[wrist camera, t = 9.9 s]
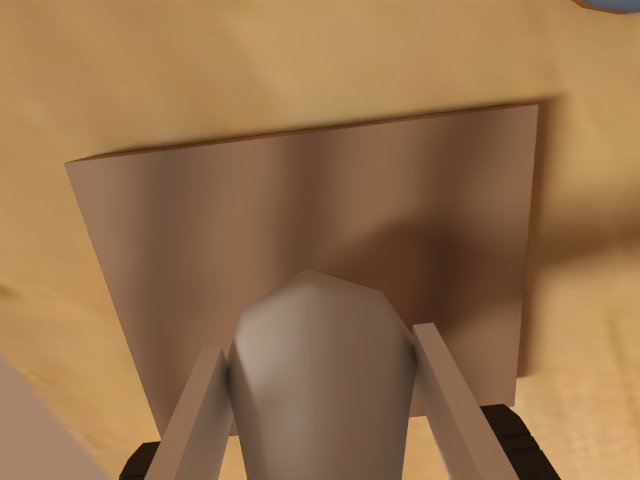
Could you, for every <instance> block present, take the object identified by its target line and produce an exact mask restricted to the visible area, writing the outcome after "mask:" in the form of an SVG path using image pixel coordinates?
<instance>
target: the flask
mask: <svg viewBox="0 0 640 480" xmlns="http://www.w3.org/2000/svg"><path fill="white" fill-rule="evenodd" d="M226 363H227V367H228V369H227V391H228V395H229V399H230V403H231V407H232V411H233V415H234V419H235V423H236V427H237V431H238V435H239V439H240V444H241V450H242V455H243V460H244V465H245V470H246V475H247V480H401V478H402V470H403V461H404V453H405V445H406V436H407V428H408V420H409V413H410V407H411V401H412V395H413V389H414V383H415V377H416V372H417V366H418V363H417V359H416V355H415V350H414V346H413V336H412V334H411V333H410V331H409V330H408V328H407V327H406V326H405V324H404V323H403V321H402V320H401V318H400V317H399V316H398V314H397V313H396V311H395V310H394V308H393V307H392V305H391V304H390V303H389V301H388V300H387V298H386V297H385V295H384V294H383V292H381V291H378V290H375V289H371V288H368V287H365V286H362V285H358V284H355V283H352V282H349V281H345V280H342V279H339V278H336V277H332V276H329V275H326V274H323V273H319V272H316V271H313V270H310V269H306V270H304V271H302V272H301V273H299V274H298V275H296V276H295V277H293V278H291V279H290V280H288V281H287V282H285V283H283V284H282V285H280V286H279V287H277V288H275V289H274V290H272V291H271V292H269V293H267V294H266V295H264V296H263V297H261V298H259V299H258V300H256V301H255V302H253V303H251V304H250V305H248V306H247V307H245V308H243V309H242V312H241V315H240V318H239V322H238V325H237V328H236V331H235V334H234V337H233V340H232V344H231V347H230V350H229V353H228V356H227V359H226Z"/></svg>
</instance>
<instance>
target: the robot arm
mask: <svg viewBox="0 0 640 480" xmlns="http://www.w3.org/2000/svg"><path fill="white" fill-rule="evenodd" d="M413 346H414V350H415V355H416V359H417V363H418V366H417V372H416V377H415V386H416V389H417V392H418V394H419V397H420V400H421V403H422V405H423V408H424V411H425V414H426V416H427V419H428V422H429V425H430V427H431V430H432V433H433V436H434V438H435V441H436V444H437V447H438V449H439V452H440V455H441V458H442V461H443V463H444V466H445V469H446V472H447V474H448V477H449V480H561V479H560V477H559V476H558V474H557V473H556V471H555V470H554V468H553V467H552V465H551V463H550V462H549V460H548V459H547V457H546V456H545V454H544V453H543V451H542V450H540V448H539V445H538V444H537V442H536V441H535V439H534V438H533V436H531V434H530V432H529V430H528V429H527V427H526V425H525V424H524V422H523V421H522V419H521V418H520V417H519V416H518V415H517V414H516V413H515V412H513V411H512V410H511V409H510V408H508V407H507V406H506V405H505V404H495V405H486V406H479V405H478V403H477V401H476V399H475V398H474V396H473V394H472V392H471V390H470V389H469V387H468V385H467V383H466V381H465V379H464V378H463V376H462V374H461V372H460V370H459V368H458V367H457V365H456V363H455V361H454V359H453V357H452V356H451V354H450V352H449V350H448V348H447V347H446V345H445V343H444V341H443V339H442V337H441V336H440V334H439V332H438V330H437V328H436V326H435V325H434V323H426V324H417V325H413ZM227 369H228V367H227V363H226V359H225V355H224V351H223V347H222V346H220V347H211V348H202V350H201V352H200V355H199V357H198V359H197V361H196V364H195V366H194V368H193V370H192V373H191V375H190V377H189V379H188V382H187V384H186V386H185V388H184V391H183V393H182V395H181V397H180V400H179V402H178V404H177V406H176V409H175V411H174V413H173V415H172V418H171V420H170V422H169V424H168V427H167V429H166V431H165V433H164V436H163V438H162V440H161V441H158V442H149V443H143V444H142V445H141V446H140V447H139V448H138V449H137V450H136V451H135V452H134V453H133V455H132V456H131V457H130V458H129V459H128V461H127V463H126V465H125V467H124V469H123V470H122V472H121V474H120V476H119V480H218V477H219V473H220V469H221V465H222V461H223V457H224V453H225V449H226V445H227V441H228V437H229V433H230V429H231V424H232V420H233V416H234V415H233V411H232V407H231V403H230V399H229V395H228V391H227Z"/></svg>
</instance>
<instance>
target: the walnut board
mask: <svg viewBox="0 0 640 480" xmlns="http://www.w3.org/2000/svg"><path fill="white" fill-rule="evenodd" d="M538 107H539V105H535V104H510V105H502V106H494V107H486V108H478V109H470V110H462V111H454V112H446V113H438V114H429V115H421V116H413V117H405V118H397V119H389V120H381V121H373V122H365V123H357V124H348V125H340V126H332V127H324V128H316V129H308V130H300V131H292V132H284V133H276V134H267V135H259V136H251V137H243V138H235V139H227V140H219V141H211V142H203V143H195V144H186V145H178V146H170V147H162V148H154V149H146V150H138V151H130V152H122V153H114V154H106V155H97V156H90V157H86V158H82V159H78V160H74V161H70V162H66V163H64V165H65V168H66V170H67V173H68V176H69V179H70V182H71V185H72V187H73V190H74V193H75V196H76V199H77V202H78V204H79V207H80V210H81V213H82V216H83V219H84V221H85V224H86V227H87V230H88V233H89V236H90V238H91V241H92V244H93V247H94V250H95V253H96V255H97V258H98V261H99V264H100V267H101V270H102V272H103V275H104V278H105V281H106V284H107V287H108V289H109V292H110V295H111V298H112V301H113V304H114V306H115V309H116V312H117V315H118V318H119V321H120V323H121V326H122V329H123V332H124V335H125V338H126V340H127V343H128V346H129V349H130V352H131V355H132V358H133V360H134V363H135V366H136V369H137V372H138V375H139V377H140V380H141V383H142V386H143V389H144V392H145V394H146V397H147V400H148V403H149V406H150V409H151V411H152V414H153V417H154V420H155V423H156V426H157V428H158V431H159V434H160V437H161V440H162V438H163V436H164V433H165V431H166V429H167V427H168V424H169V422H170V420H171V418H172V415H173V413H174V411H175V409H176V406H177V404H178V402H179V400H180V397H181V395H182V393H183V391H184V388H185V386H186V384H187V382H188V379H189V377H190V375H191V373H192V370H193V368H194V366H195V364H196V361H197V359H198V357H199V355H200V352H201V350H202V348H211V347H220V346H222V347H223V351H224V355H225V359H227V356H228V353H229V350H230V347H231V344H232V340H233V337H234V334H235V331H236V328H237V325H238V322H239V318H240V315H241V312H242V309H243V308H245V307H247V306H248V305H250V304H251V303H253V302H255V301H256V300H258V299H259V298H261V297H263V296H264V295H266V294H267V293H269V292H271V291H272V290H274V289H275V288H277V287H279V286H280V285H282V284H283V283H285V282H287V281H288V280H290V279H291V278H293V277H295V276H296V275H298V274H299V273H301V272H302V271H304V270H306V269H310V270H313V271H316V272H319V273H323V274H326V275H329V276H332V277H336V278H339V279H342V280H345V281H349V282H352V283H355V284H358V285H362V286H365V287H368V288H371V289H375V290H378V291H381V292H383V294H384V295H385V297H386V298H387V300H388V301H389V303H390V304H391V305H392V307H393V308H394V310H395V311H396V313H397V314H398V316H399V317H400V318H401V320H402V321H403V323H404V324H405V326H406V327H407V328H408V330H409V331H410V333H411V334H412V336H413V325H417V324H426V323H434V325H435V326H436V328H437V330H438V332H439V334H440V336H441V337H442V339H443V341H444V343H445V345H446V347H447V348H448V350H449V352H450V354H451V356H452V357H453V359H454V361H455V363H456V365H457V367H458V368H459V370H460V372H461V374H462V376H463V378H464V379H465V381H466V383H467V385H468V387H469V389H470V390H471V392H472V394H473V396H474V398H475V399H476V401H477V403H478V405H479V406H486V405H495V404H505V405H506V406H507V407H513V406H514V404H515V391H516V379H517V367H518V354H519V342H520V330H521V317H522V305H523V293H524V280H525V268H526V256H527V243H528V231H529V219H530V206H531V194H532V182H533V169H534V157H535V144H536V132H537V120H538ZM418 416H426V414H425V411H424V408H423V405H422V403H421V400H420V397H419V394H418V392H417V389H416V386H415V383H414V389H413V395H412V401H411V407H410V413H409V417H418ZM236 435H238V431H237V427H236V423H235V419H234V416H233V420H232V424H231V429H230V433H229V436H236Z"/></svg>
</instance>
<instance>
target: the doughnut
mask: <svg viewBox="0 0 640 480" xmlns="http://www.w3.org/2000/svg"><path fill="white" fill-rule="evenodd" d="M572 1H573V2H575V3H576V4H578V5H579V6H581V7H582V8H587V9H593V10H598V11H604V12H609V13H615V14H627V13H635V12H640V0H572Z"/></svg>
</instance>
